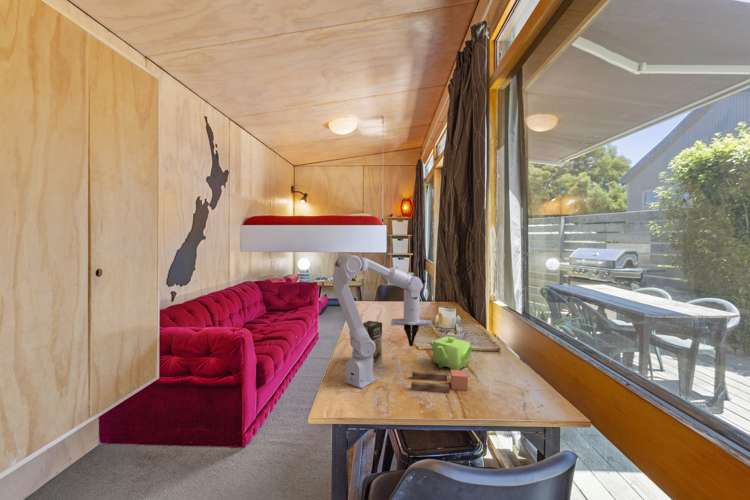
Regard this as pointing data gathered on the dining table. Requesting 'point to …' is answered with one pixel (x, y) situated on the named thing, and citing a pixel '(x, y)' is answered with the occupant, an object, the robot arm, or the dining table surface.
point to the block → (459, 380)
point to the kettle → (451, 352)
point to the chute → (429, 386)
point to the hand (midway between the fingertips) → (411, 345)
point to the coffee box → (375, 339)
